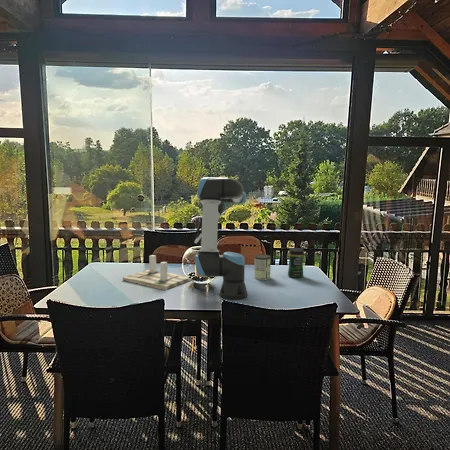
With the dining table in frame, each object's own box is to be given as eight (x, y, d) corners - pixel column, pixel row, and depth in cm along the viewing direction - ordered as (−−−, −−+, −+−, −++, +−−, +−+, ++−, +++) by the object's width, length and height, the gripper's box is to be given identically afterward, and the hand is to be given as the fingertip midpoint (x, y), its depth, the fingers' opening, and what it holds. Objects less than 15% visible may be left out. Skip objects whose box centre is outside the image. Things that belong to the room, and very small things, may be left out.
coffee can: (254, 275, 260) (254, 254, 258) (270, 275, 259) (270, 254, 257) (253, 279, 250) (254, 257, 248) (270, 280, 249) (270, 258, 247)
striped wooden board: (165, 290, 227) (165, 286, 226) (122, 280, 245) (122, 277, 244) (191, 280, 247) (191, 276, 246) (150, 272, 265) (150, 269, 264)
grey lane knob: (152, 273, 252) (152, 256, 250) (147, 272, 254) (147, 255, 253) (157, 272, 256) (157, 255, 255) (153, 271, 258) (152, 254, 257)
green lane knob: (163, 282, 234) (163, 263, 233) (158, 281, 236) (158, 262, 235) (169, 280, 238) (169, 262, 237) (164, 279, 240) (163, 261, 239)
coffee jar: (289, 278, 254) (290, 249, 252) (287, 274, 262) (287, 247, 259) (304, 278, 255) (305, 249, 252) (301, 274, 262) (302, 247, 260)
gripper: (217, 226, 264) (201, 251, 249) (201, 214, 262) (185, 237, 247) (222, 221, 259) (207, 246, 243) (207, 208, 257) (190, 232, 241)
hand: (196, 241), depth 245 cm, fingers closed
